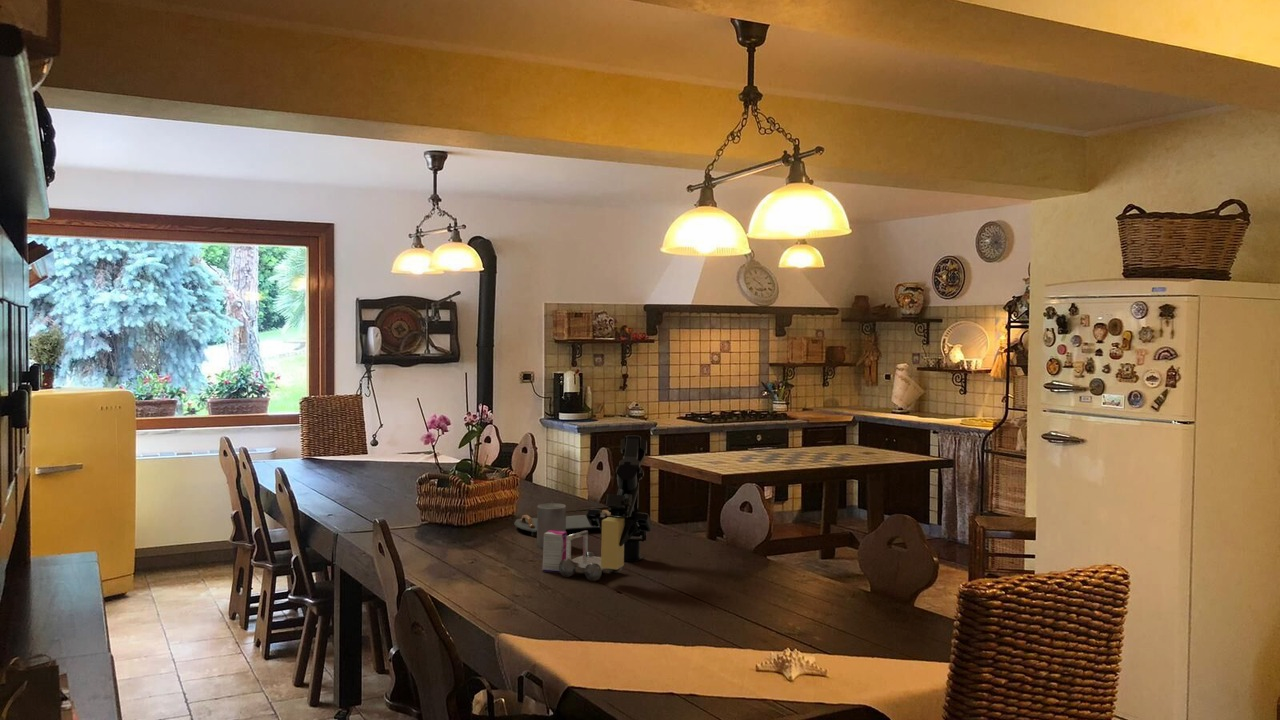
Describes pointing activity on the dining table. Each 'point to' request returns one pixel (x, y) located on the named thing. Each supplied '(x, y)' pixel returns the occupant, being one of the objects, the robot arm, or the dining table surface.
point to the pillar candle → (550, 520)
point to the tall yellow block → (612, 543)
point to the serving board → (571, 523)
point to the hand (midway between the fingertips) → (611, 544)
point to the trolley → (582, 560)
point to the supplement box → (554, 550)
